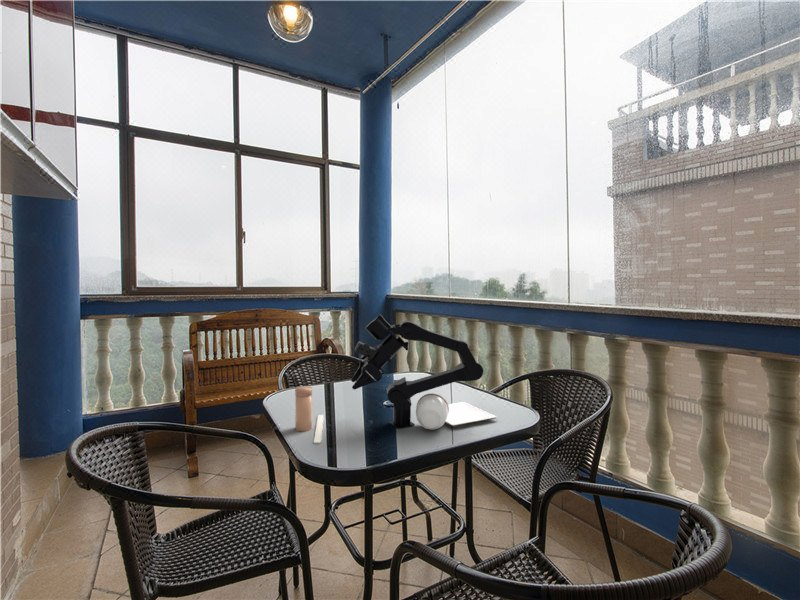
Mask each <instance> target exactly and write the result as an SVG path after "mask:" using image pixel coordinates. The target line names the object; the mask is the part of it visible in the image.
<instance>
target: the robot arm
mask: <svg viewBox="0 0 800 600" xmlns="http://www.w3.org/2000/svg"><path fill="white" fill-rule="evenodd" d="M364 329H365V331H367V332H368V333H369V334H370V336H372V337H373V338H374V339H375V341H382V342H381V344H378V345H375V346H374V347H372V346H370V343H367V342H364V343H363V342H362V341H357V343H356V346H355V348H354V349H353V350H354V352H355V353H356V354H359V355H361V356H360V359H359V366H358V367H357V369H356V371H355V373H354V375H353V376H352V378H351V379H350V381H351V382H352V383H353V385H352V386H351V388H352V390H358V389H360V388H363V387H365V386H367V385H370V384H373V383H376V382H379V381H380V380H382V378H383V372H382V371H383V367H384V366H385V365H386V364H387V363H390V362H392V358H393V357H395V355H397V353H398V352H399V351H400V350H401V349H402V348H403V349H404V350H405V351H409V342H408V340H409V341H417V342H425V343H428V344H432V345H435V346H438V347H442V348H445V349H446V350H450V351H454V352H457V355H458V357H459V358H460V363H458V364H457V365H455V366H454V367H453V368H451V369H447V370H444V371H440V372H437V373H434V374H432V375H428V376H423V377H421V378H418V379H415V380H407V378H406V377H405V376H404V377H401V378H399V379H394V380H393V382H391V383H390V384H389V385H388V387H387V391H386V392H387V393H386V394H387V399H388V401H389V402H390V403H392V404H393V409H392V411H393V414H392V415H393V416H392V420H389V421H388V423H389V424H390V425H392V426H393V427H394V428H396V429H404V428H408V427H415V423H414V422H412V421H411V419H412V417H411V416H412V414H411V413H412V411H411V407H412V405H413V404H412V399H411V398H412V397H414V396H415V395H418V394H420V393H424V392H427V391H430V390H433V389H436V388H439V387H442V386H448V385H449V384H450V385H451V384H453V383H457V382H473V381H478V380H481V378H482V377H483V375H484V368H483V365H481V364H480V362H478V361H477V360H476V359H475V357H474V355H473V352H472V351H471V350H470V348H469V345H468V344H467V343H466V342H465V341H464V340H462V339H457V338H454V337H450V336H448V335H444V334H441V333H438V332H435V331H432V330H428V329H426V328H425V327H423V326H421V325H419V324H418V323H415V322H413V321H412V320H408V319H407V320H403V321H402V322H401V323H398V324H390V323H389V322H388V321H387V320H385V318H384V317H383V315H382V314H378V316H376V317H375V318H374V319H372V321H370V322H369V324H367V325H366V326H365V328H364ZM395 335H397V336H395ZM405 340H407V341H405Z"/></svg>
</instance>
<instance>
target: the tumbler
mask: <svg viewBox="0 0 800 600" xmlns="http://www.w3.org/2000/svg"><path fill="white" fill-rule="evenodd" d="M294 389H295V390H294V392H295V393H294V396H295V415H294V416H295V417H294V418H295V431H296V432H299V433H300V432H309V431H310V430H311V431H312V425H313V424H312V423H313V421H312V412H313V411H312V405H313V404H312V403H313V402H312V401H313V398H312V397H313V387H312V386H309V385H301V386H297V387H295V388H294Z"/></svg>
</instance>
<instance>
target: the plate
mask: <svg viewBox="0 0 800 600" xmlns="http://www.w3.org/2000/svg"><path fill="white" fill-rule="evenodd" d="M447 404H448V403H447ZM448 407H449V414H448V417H447V420H446V422H445V424H448V425H449V426H451V427H459V426H464V425H470V423H471V424H475V422H476V423H479V422H480V421H481V422H485V420H486V421H490V420H494V419H497V417H498V416H496V415H494V414H492V413H490V412H488V411H486V410H483V409H481V408H479V407H476V406H474V405H471V404H470V403H467V402H466V401H461V402H460V401H459V402H454V403H449V404H448ZM481 422H480V423H481Z"/></svg>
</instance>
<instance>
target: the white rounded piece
mask: <svg viewBox="0 0 800 600" xmlns="http://www.w3.org/2000/svg"><path fill="white" fill-rule="evenodd" d="M448 414H449V407H448V402H447V400H446V399H445V398H444V397H443V396H441V395H440V394H437V393H427V394H424V395H422V396H421V397H420V398H419V399H418V401H417V403H416V407H415V417H416V420H417V422H418V423H419V425H420V426H421V427H423V428H424V429H427V430H431V431H434V430H437V429H440V428H441V427H443V426H444V425H445V424H446V420H447V417H448Z"/></svg>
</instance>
